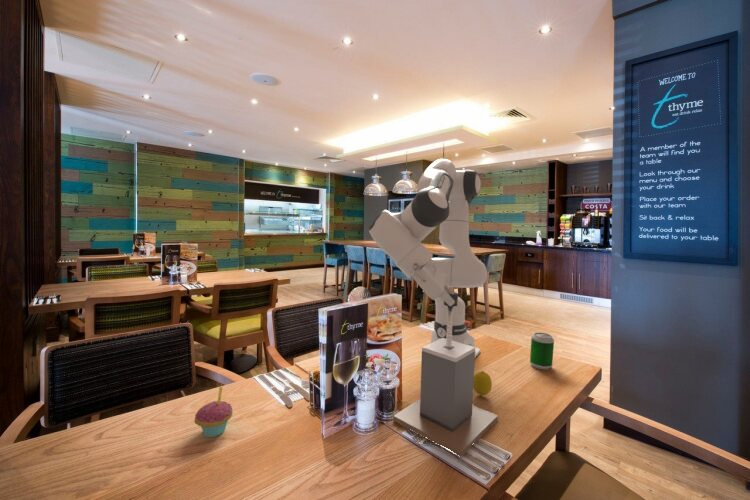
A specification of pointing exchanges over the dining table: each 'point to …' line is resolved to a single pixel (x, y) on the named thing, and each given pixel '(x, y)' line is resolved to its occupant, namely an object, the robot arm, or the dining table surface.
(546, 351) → the soda can
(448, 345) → the plunger
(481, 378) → the lemon
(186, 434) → the dining table surface
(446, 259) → the robot arm
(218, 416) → the cupcake
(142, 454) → the dining table surface
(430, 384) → the press
